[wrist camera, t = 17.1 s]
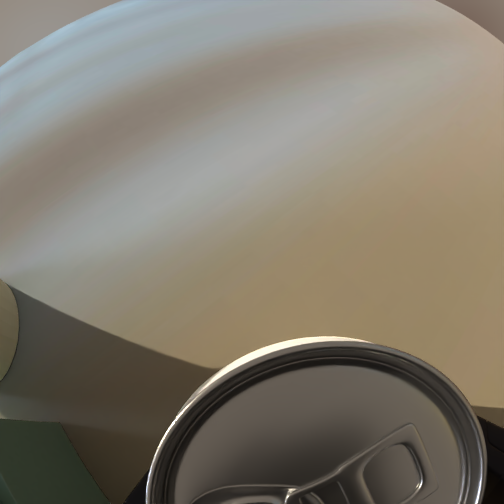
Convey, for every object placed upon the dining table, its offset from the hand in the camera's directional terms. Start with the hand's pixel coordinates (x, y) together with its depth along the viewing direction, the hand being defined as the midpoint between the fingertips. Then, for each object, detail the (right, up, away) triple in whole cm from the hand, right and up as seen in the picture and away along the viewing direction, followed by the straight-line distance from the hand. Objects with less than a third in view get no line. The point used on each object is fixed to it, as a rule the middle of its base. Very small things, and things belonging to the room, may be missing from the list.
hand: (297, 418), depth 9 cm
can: (+1, -4, +5) cm, 7 cm away
